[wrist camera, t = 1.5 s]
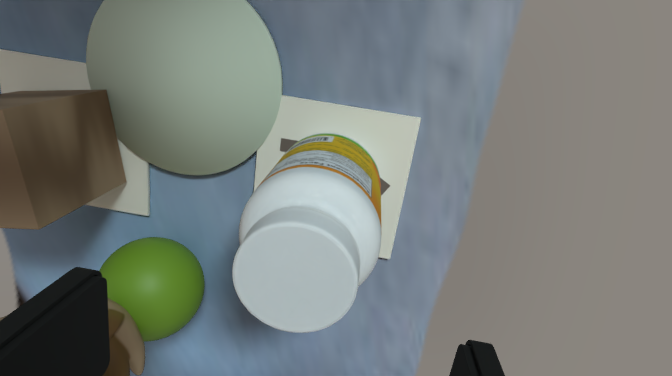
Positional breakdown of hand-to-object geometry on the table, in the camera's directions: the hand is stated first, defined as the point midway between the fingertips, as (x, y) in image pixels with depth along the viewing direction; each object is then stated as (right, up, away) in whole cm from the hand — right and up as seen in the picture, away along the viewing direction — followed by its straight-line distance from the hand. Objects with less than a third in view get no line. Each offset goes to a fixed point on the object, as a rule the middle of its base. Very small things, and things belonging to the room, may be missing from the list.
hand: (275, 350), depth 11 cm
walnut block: (-13, +7, +12) cm, 18 cm away
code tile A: (+1, +5, +11) cm, 12 cm away
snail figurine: (-8, 0, +14) cm, 16 cm away
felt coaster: (-6, +10, +10) cm, 15 cm away
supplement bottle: (+1, +5, +11) cm, 12 cm away
